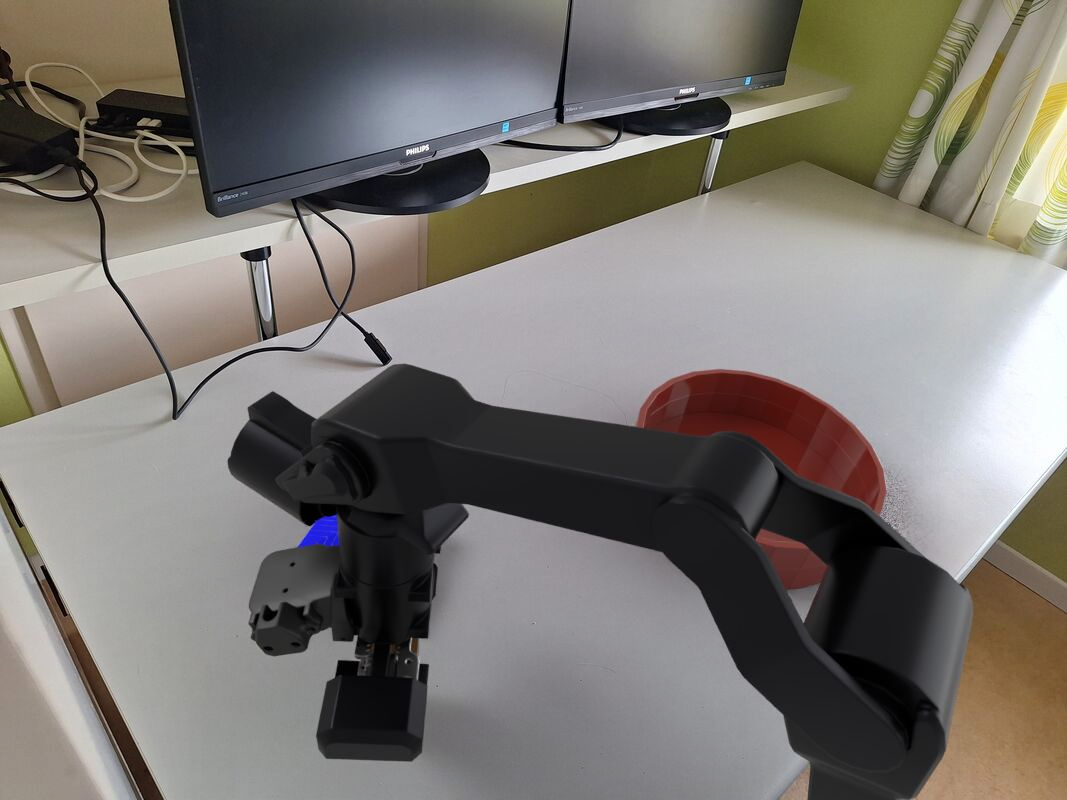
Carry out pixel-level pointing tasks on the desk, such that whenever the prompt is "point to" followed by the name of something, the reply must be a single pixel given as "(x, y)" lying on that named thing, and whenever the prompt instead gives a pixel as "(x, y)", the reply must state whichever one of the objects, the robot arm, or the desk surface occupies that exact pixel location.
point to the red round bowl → (774, 443)
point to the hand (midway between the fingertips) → (389, 676)
